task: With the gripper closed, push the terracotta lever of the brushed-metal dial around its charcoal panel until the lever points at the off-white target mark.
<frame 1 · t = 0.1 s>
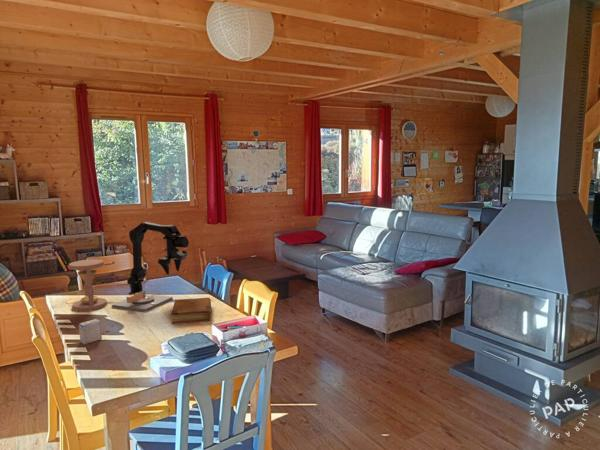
hand: (173, 272, 258), 15 cm above the table, fingers open, 9 cm apart
panel: (143, 303, 249), on the table
dial: (139, 297, 246), point 4 cm above the table, hinge at 0.0°
medicine box: (91, 341, 196), on the table
wooden pedestal stand: (90, 306, 245), on the table
diary: (192, 315, 229), on the table
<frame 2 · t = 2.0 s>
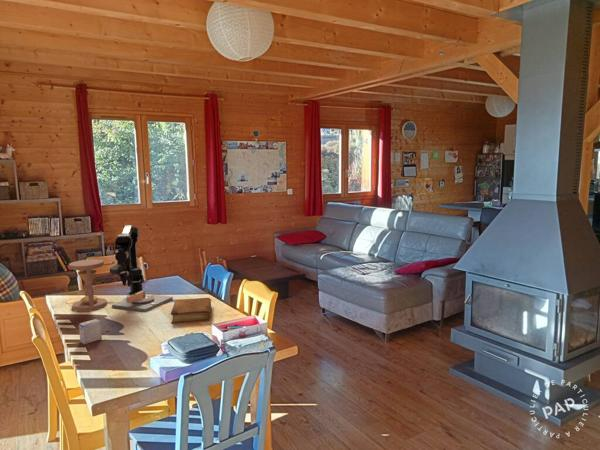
hand: (126, 286, 241), 12 cm above the table, fingers open, 3 cm apart
nothing on the table moved.
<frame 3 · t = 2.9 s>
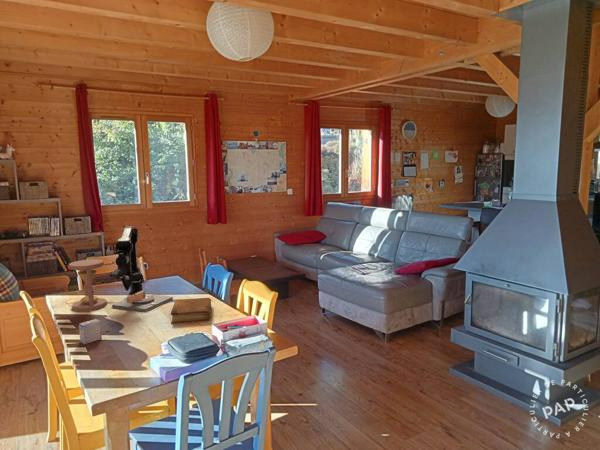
hand: (127, 290, 241), 10 cm above the table, fingers closed
nothing on the table moved.
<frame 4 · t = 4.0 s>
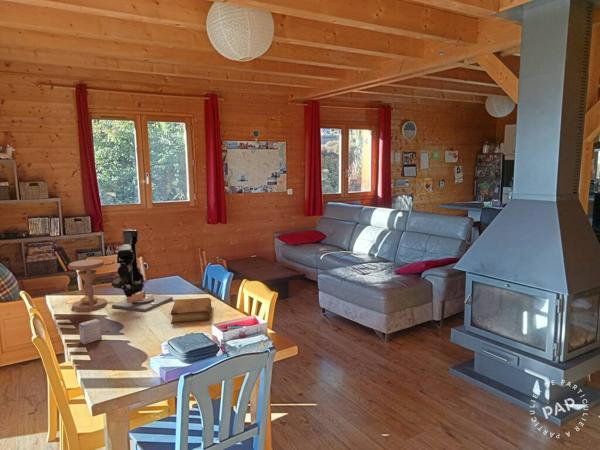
hand: (128, 299, 241), 5 cm above the table, fingers closed
dial: (139, 297, 246), point 4 cm above the table, hinge at 0.3°, touching gripper
everything else where it was.
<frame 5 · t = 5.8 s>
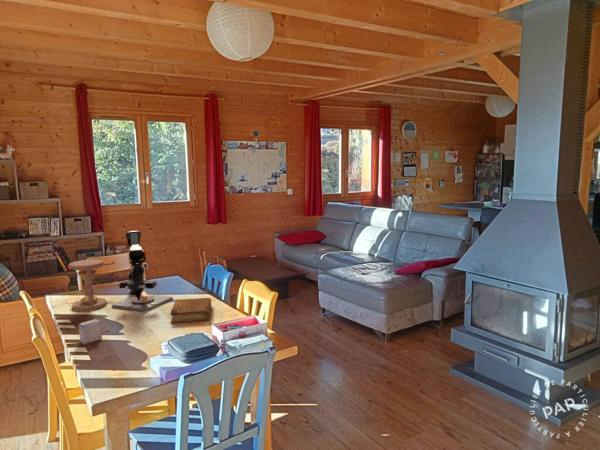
hand: (138, 299, 240), 5 cm above the table, fingers closed
dial: (143, 296, 246), point 4 cm above the table, hinge at 47.9°, touching gripper
everything else where it was.
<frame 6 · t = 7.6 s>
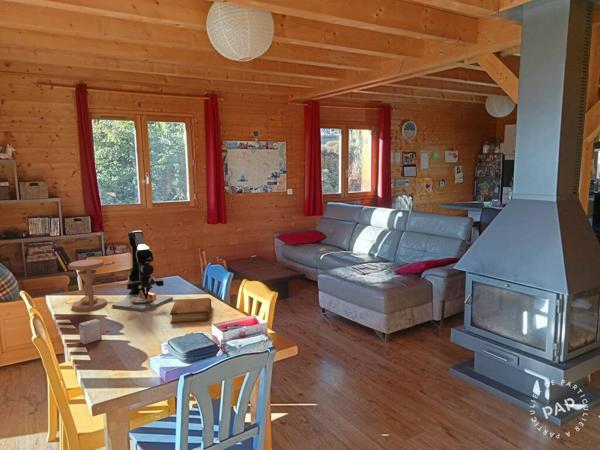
hand: (146, 299, 241), 5 cm above the table, fingers closed
dial: (145, 296, 247), point 4 cm above the table, hinge at 74.3°, touching gripper
everything else where it was.
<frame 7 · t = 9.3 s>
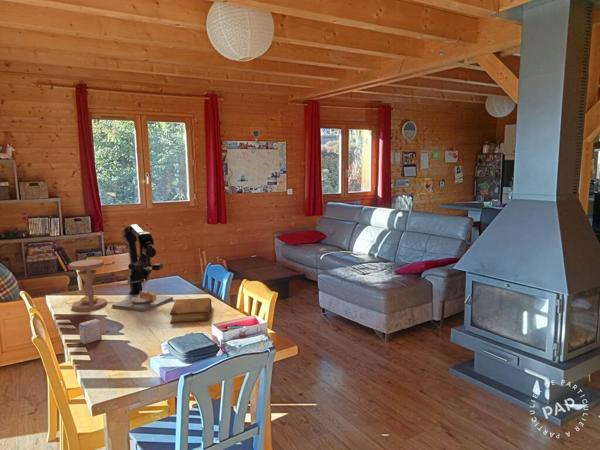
hand: (146, 280, 253), 11 cm above the table, fingers closed
dial: (145, 296, 247), point 4 cm above the table, hinge at 74.6°
everything else where it was.
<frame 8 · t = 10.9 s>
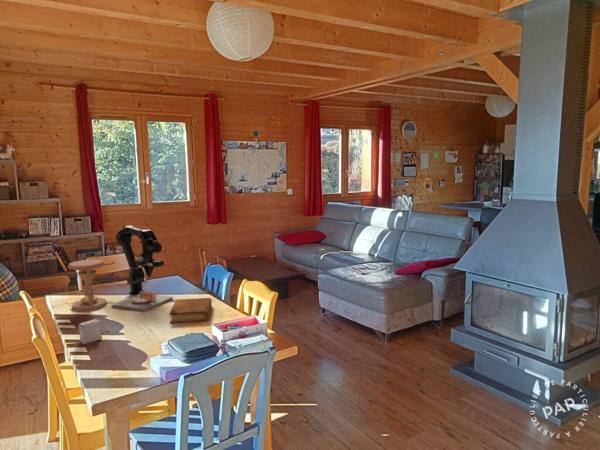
hand: (149, 276, 260), 12 cm above the table, fingers closed
nothing on the table moved.
at the end: dial at +75° (first picture: +0°) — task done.
